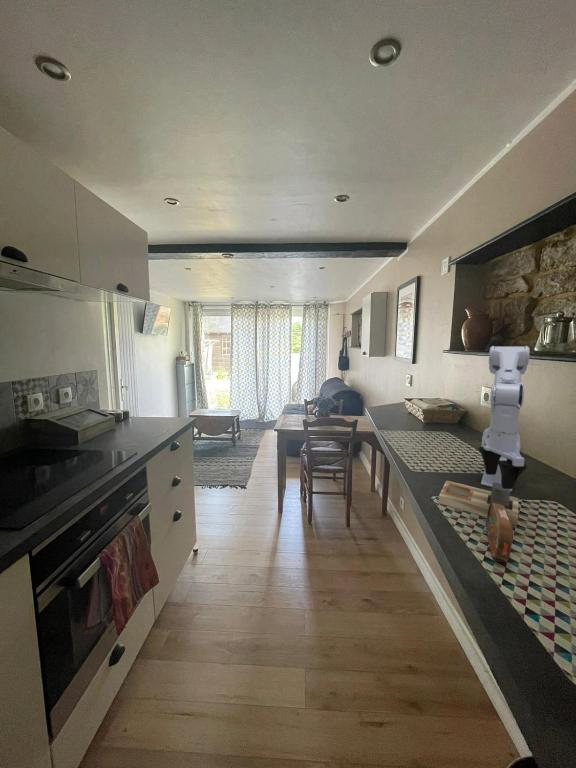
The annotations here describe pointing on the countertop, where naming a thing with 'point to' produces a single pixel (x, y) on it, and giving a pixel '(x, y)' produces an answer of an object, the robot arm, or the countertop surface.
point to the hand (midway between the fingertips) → (498, 480)
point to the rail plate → (473, 500)
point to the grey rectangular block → (500, 495)
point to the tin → (499, 531)
